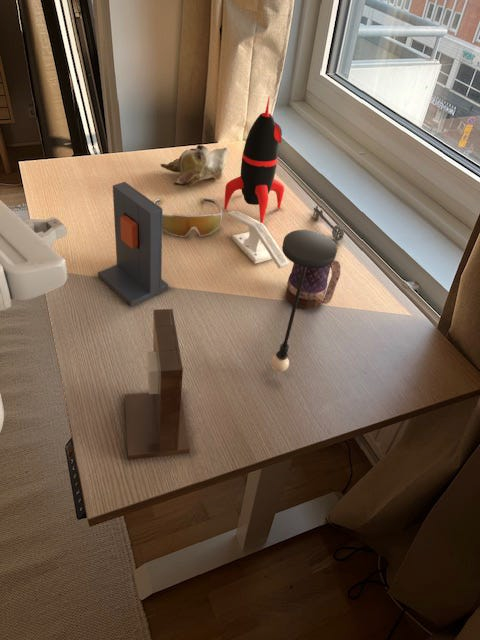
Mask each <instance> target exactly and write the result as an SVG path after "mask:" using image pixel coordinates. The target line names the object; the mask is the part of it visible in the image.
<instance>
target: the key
mask: <svg viewBox="0 0 480 640" xmlns="http://www.w3.org/2000/svg"><path fill="white" fill-rule="evenodd" d="M318 208H319V206H318V205H316V206H315V207H313V215H312V216H313V217H314V218H315V219H316V220H317V221H319V220H320V219H321V220H323V222H325V224H327V225H328V226H329V227H330V228H331V229H332V231H331V235H332V238H333V239H334V240H335V241H336V242H339V241H342V240H343V239H344V235H345V231H344V228H343V227H342V226H341V225H340V224H336V225H333V224H332V223H331V222H330V220H328V218H327V217H326V216H325V215H324V214H323V213H324V211H323V210H322V209H320V210H319V209H318Z"/></svg>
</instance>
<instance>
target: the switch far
mask: <svg viewBox="0 0 480 640" xmlns="http://www.w3.org/2000/svg"><path fill="white" fill-rule="evenodd" d="M120 224H121V240H122V241H123V242H125V243H126V244H127V245H128V246H130V247H131V248H132V249H133V248H135V247H138V224H137V223H136V222H134V221H133V220H132V219H130V218H129V217H128V216H126V215H125V216H123V217H120Z"/></svg>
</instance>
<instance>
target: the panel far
mask: <svg viewBox="0 0 480 640" xmlns="http://www.w3.org/2000/svg"><path fill="white" fill-rule="evenodd" d="M112 200H113V218H114V219H113V220H114V236H115V254H116V255H115V257H116V264H115V265H113V266H111V267H108V268H106V269H103V270H101V271H98V272H97V277H98V278H99V279H100V280H101V281H102V282H103V283H104V284H105V285H107V286H108V287H109V288H110V289H111V290H112V291H113V292H115V293H116V294H117V296H119V297H120V298H121V299H122V300H123V301H124V302H125V303H126V304H128V305H129V306H130V307H133V306H136V305H137V304H140V303H141V302H144V301H146V300H148V299H150V298H152V297H154V296H156V295H158V294H160V293H163V292H165V291H167V290H168V289H169V283H167V282H166V281H165V280H163V279H162V269H163V268H162V262H163V259H162V257H163V230H162V214H164V213H163V210H164V209H163V208H162V207H161V206H159V205H158V203H156V204H155V203H154V201H153V200H151V199H150V198H149V197H148V196H146V195H144V194H143V193H141V192H140V191H138V190H137V189H136V188H135V187H133V186H132V185H130V184H129V183H127V182H126V181H122V182H120V183H116V184H113V185H112ZM125 215H126V216H128V217H129V218H130V219H132V220H133V221H134V222H136V223H137V224H138V247H135V248H133V249H132V248H131V247H130V246H128V245H127V244H126V243H125V242H123V241H122V240H121V224H120V217H123V216H125Z"/></svg>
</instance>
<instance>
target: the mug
mask: <svg viewBox="0 0 480 640" xmlns="http://www.w3.org/2000/svg"><path fill="white" fill-rule="evenodd" d="M302 268H303V266H300V265H297V264H295V263H293V265H292V268H291V272H290V274H289V275H288V279H287V283H286V284H287V286H286V289H285V297H286V299H287V301H288V302H290V304H292V305H293V304H294V300H295V296H296V292H297V288H298V284H299V280H300V276H301V272H302ZM341 269H342V267H341V263H340V261H338V260H337V259H335V260H334V261H333V263H331V264H330V265H328V266H326V267H322V268H308V267H307V268H306V272H305V276H304V280H303V284H302V288H301V292H300V296H299V299H298V303H297V307H296V308H299V309H305V310H308V309H309V310H311V309H315V308H317V307H319V306H320V305H322V304H329V303H330V302H331V301H332V299H333V296H334V293H335V290H336V287H337V284H338V281H339V279H340V277H341ZM330 272H331V277H330V280H329V275H330ZM328 280H329V282H328Z"/></svg>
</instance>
